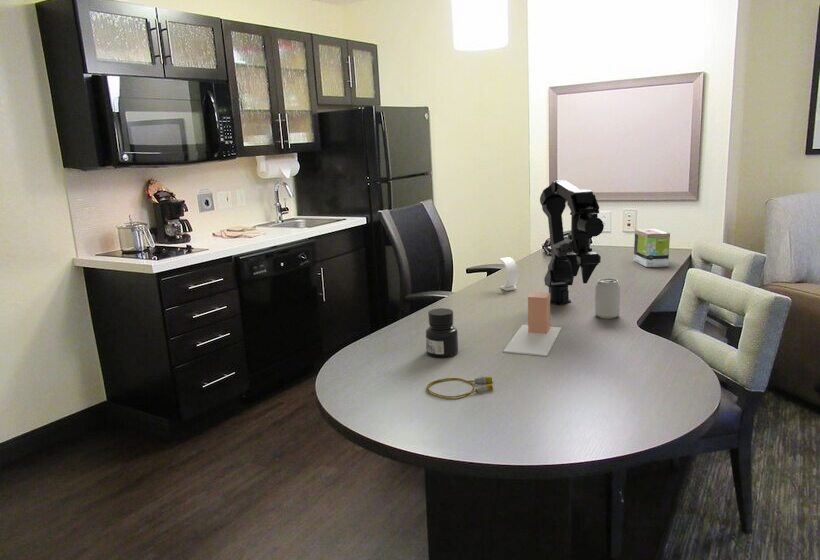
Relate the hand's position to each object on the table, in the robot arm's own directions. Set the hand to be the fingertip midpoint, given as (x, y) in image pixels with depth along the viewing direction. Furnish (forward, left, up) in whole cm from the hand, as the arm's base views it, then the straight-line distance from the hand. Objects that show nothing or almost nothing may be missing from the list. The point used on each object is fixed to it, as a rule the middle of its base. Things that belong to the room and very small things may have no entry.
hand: (579, 279), depth 183 cm
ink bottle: (0, -52, -13) cm, 54 cm away
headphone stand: (-43, +7, -13) cm, 46 cm away
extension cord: (+23, -62, -13) cm, 67 cm away
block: (+3, -19, -12) cm, 23 cm away
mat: (+7, -26, -13) cm, 29 cm away
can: (+5, +8, -13) cm, 16 cm away
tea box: (-36, +81, -13) cm, 90 cm away
